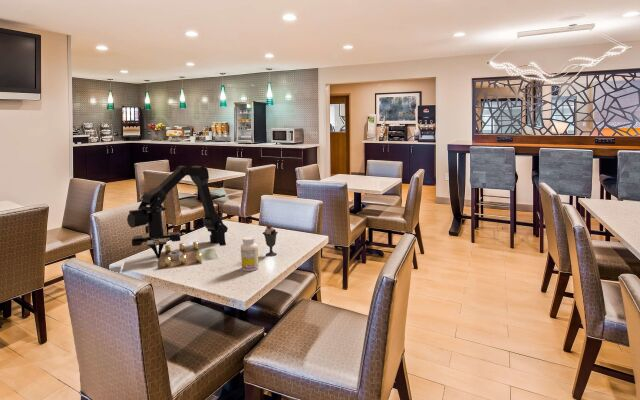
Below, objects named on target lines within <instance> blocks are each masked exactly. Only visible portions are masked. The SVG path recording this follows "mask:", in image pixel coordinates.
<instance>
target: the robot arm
mask: <svg viewBox="0 0 640 400" xmlns="http://www.w3.org/2000/svg"><path fill="white" fill-rule="evenodd" d="M209 175H210V174H209V170H208V167H206V166H201V165H193V166H191V167H189V166H184V165H179V166H177V167H176V169H175V170H173V171H172V172H171V173H170V174H169V176H167V177H166V178H165V179H164V180H163V181H162V182H161V183H160V184H159V185H157V186H156V187H154V188H151V189H149V191H147V192H145V193H144V195H142V199H141V202H140V203H139V206H138V207H137V209H132V210H131V209H130V210H129V211H128V215H127V218H126V222H127V224H128V226H129V228H131V229H133V228H138V227H141V226H145V227H144V229H145V233H146V234H148V236H147V237H144V236H143V235H134V236H133V237H132V238H131V246H132V247H138V246H141V245H143V243H147V244H146V245H147V247H150V249H152V251H153V253H154V254H155V256H156V258H157V259H158V258H160V255H161V252H163V251H162V250H163V248H164V247H165V245H167V241H168V240H170V241H171V242H180V241H181V233H180V232H179V231H172V232H171V231H170V232H169V234H165V231H164V230H165V229H164V225H163V224H164V223H163V215H162V212H163V211H167V208H166V207H165V206H163V203H164V202H165V200H166V199H167V195H168V193H170V192H171V191H172V189H174V188H175V187H176V186H177V185H178V184H179V183H180V182H181V181H182V180H183V179H184V178H185V177H186V176H189V177H190V179H191V181H192V182H193V184H194V185H195V186H196V188H197V192H198V194H199V197H200V200H201V204H202V208H203V211H204V217H202V218H201V221H202V224H203V226H204V227H205V229H207V231H208V232H209V233H210V234H209V240H210V241H209V243H210V244H218V245H219V246H226V244H227V243H226V233H227V232H228V229H229V228H228V226H227V225H226V224H224V222H223V220H222V217H221V215H219V213H218V212H217V211H216V209H215V204H214V202H213V198H212V194H211V190H210V188H209V179H210V176H209ZM156 242H158V247H157V243H156Z"/></svg>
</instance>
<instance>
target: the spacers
mask: <svg viewBox="0 0 640 400" xmlns="http://www.w3.org/2000/svg"><path fill="white" fill-rule="evenodd" d="M178 246H179V248H178V250H180V251H181V252H184V251H185V249H186V248H185V243H184V242H181V243H179V244H178ZM192 246H193V247H192V248H193V249H194V250H200V249H199V241H193V242H192ZM171 251H172V250H171V244H165V245H164V252H165V253H166V254H168V253H170V252H171ZM180 259H181V265H185V264H187V263H186V255H181V256H180ZM201 262H202V263H203V261H202V260H201V253H197V254H196V263H201ZM170 266H171V259H170V257H165V267H170Z"/></svg>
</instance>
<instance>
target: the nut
mask: <svg viewBox="0 0 640 400" xmlns="http://www.w3.org/2000/svg"><path fill="white" fill-rule="evenodd" d="M181 255H182V252H181V251H174V250H171V252H170V253H168V257H170V259H171V260H172V261H173V260H180V256H181Z"/></svg>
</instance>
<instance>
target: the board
mask: <svg viewBox="0 0 640 400" xmlns="http://www.w3.org/2000/svg"><path fill="white" fill-rule="evenodd" d="M173 251H180V249H174V250H173ZM197 253H201V260H202V262H201V263H196V254H197ZM182 255H186V263H187V264H185V265H181V259H180V260H173V261H172V260H171V266H170V267H165V257H168V254H166V253H165V251H161V255H160V258H157V271H159V270H161V271H162V270H168V269H175V268H183V267H190V266H197V265H203V262H204V261H206V262H207V261H212V260H218V259H219V257H218V254H217V252H216V249H215V248H214V247H212V248H205V249H199V250H194V249H193V247H191V248H185V251H184V252H182Z"/></svg>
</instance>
